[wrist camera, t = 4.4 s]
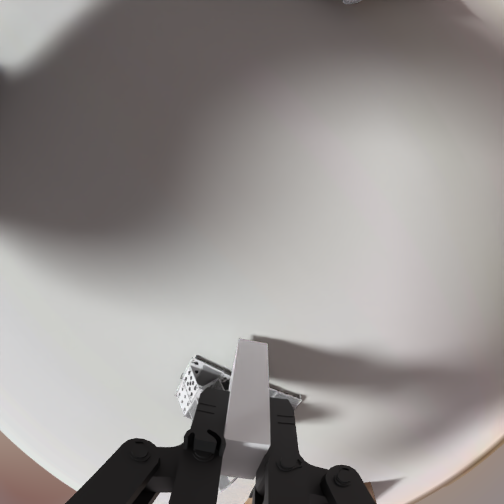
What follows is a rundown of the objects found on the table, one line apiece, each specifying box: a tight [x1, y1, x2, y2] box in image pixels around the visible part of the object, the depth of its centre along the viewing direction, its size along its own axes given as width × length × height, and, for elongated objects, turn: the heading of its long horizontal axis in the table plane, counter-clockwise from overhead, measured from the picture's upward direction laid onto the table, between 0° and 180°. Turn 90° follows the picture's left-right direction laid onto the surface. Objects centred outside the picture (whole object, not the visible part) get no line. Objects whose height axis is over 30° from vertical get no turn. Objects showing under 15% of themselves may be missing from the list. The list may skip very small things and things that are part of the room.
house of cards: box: [174, 357, 302, 492], centre depth 13 cm, size 9×9×8 cm
